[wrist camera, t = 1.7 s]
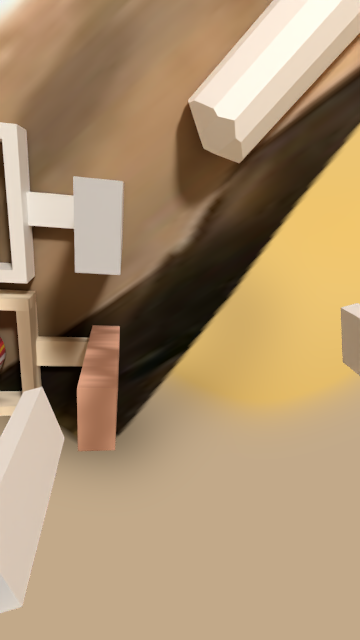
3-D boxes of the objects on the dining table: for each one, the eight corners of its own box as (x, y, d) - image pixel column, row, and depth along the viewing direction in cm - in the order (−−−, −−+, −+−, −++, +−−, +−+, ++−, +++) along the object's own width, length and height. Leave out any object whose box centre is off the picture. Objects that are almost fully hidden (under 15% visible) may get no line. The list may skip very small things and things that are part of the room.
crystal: (246, 194, 32) (456, -29, 28) (210, 135, 27) (465, -152, 23) (204, 167, 37) (380, -27, 33) (166, 113, 31) (371, -129, 27)
